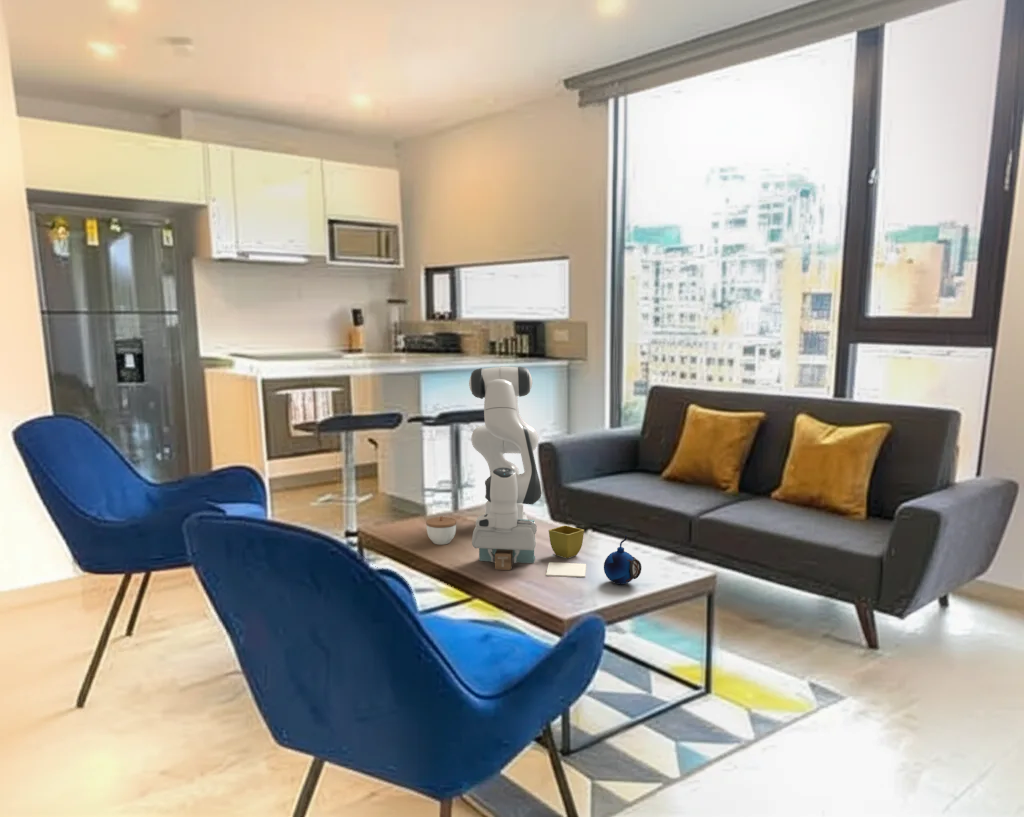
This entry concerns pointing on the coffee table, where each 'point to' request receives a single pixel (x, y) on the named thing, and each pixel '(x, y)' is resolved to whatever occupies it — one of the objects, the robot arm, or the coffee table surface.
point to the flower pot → (566, 541)
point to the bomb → (621, 566)
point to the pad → (566, 569)
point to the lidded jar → (441, 529)
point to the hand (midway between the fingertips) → (503, 562)
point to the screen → (522, 557)
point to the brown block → (503, 559)
